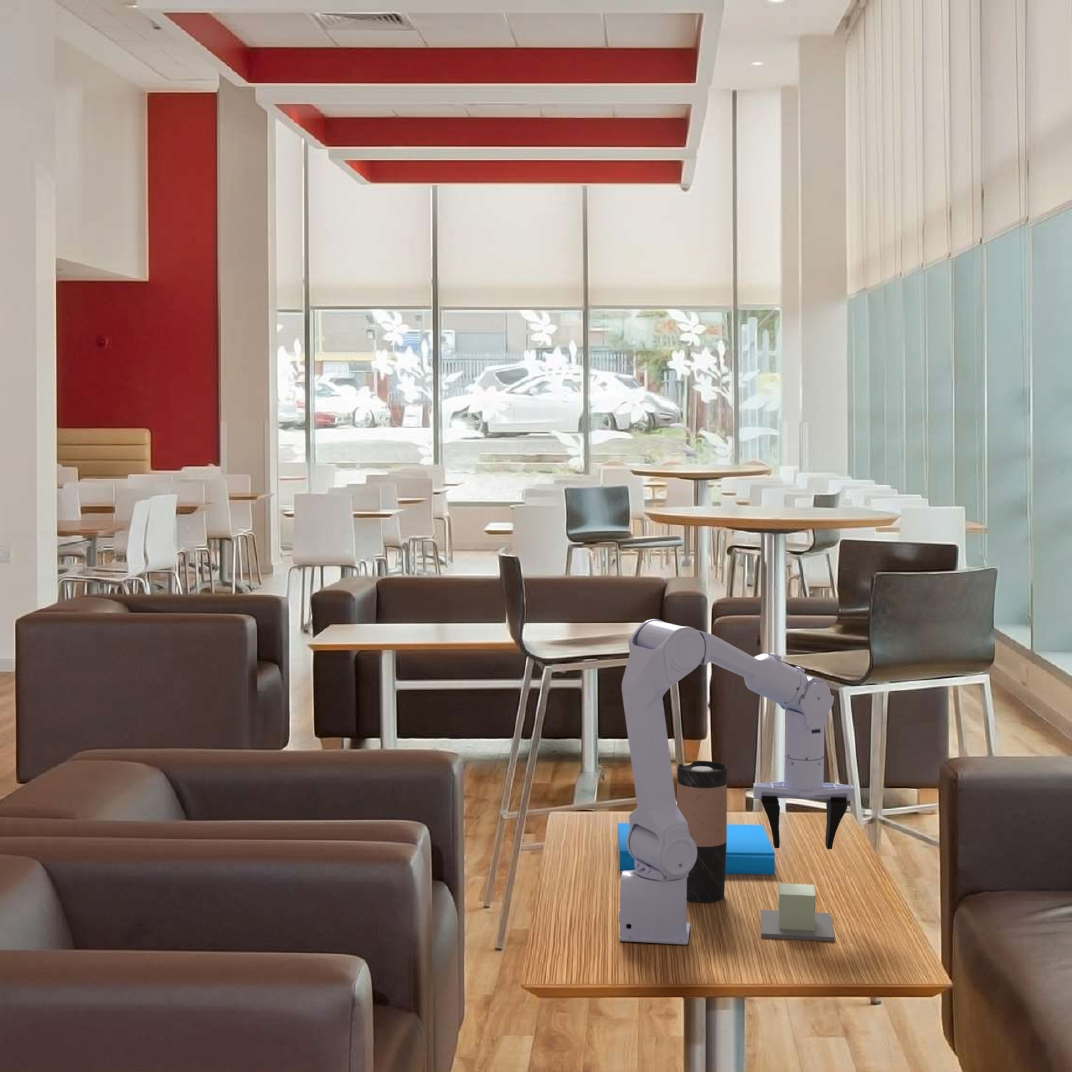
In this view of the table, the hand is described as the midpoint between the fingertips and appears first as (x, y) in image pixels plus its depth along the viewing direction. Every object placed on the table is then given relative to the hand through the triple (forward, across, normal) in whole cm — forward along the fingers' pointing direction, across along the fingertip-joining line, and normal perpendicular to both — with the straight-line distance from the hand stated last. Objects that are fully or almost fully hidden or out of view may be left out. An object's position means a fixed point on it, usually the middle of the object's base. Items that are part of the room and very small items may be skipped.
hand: (802, 846), depth 211 cm
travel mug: (+10, -15, +5) cm, 18 cm away
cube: (+9, -2, -8) cm, 12 cm away
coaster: (+9, -2, -8) cm, 12 cm away
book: (+10, -15, +24) cm, 30 cm away
